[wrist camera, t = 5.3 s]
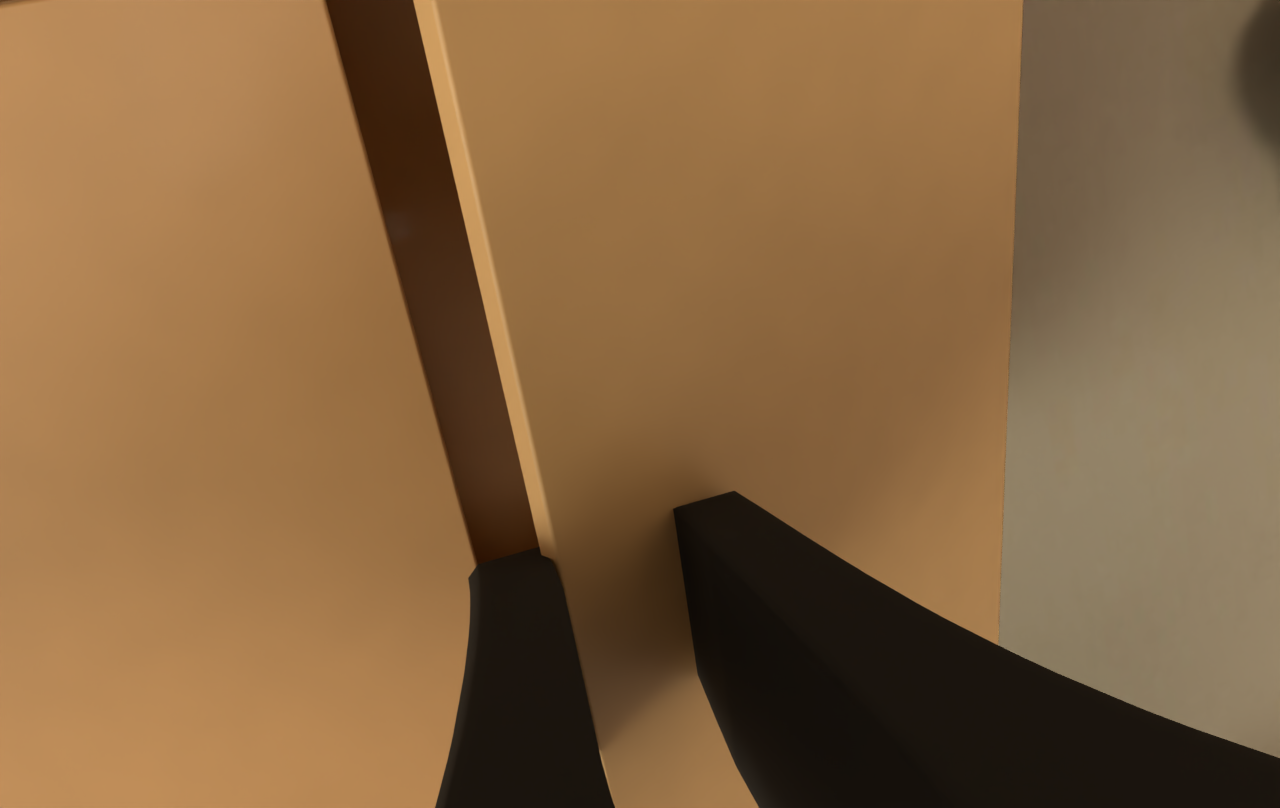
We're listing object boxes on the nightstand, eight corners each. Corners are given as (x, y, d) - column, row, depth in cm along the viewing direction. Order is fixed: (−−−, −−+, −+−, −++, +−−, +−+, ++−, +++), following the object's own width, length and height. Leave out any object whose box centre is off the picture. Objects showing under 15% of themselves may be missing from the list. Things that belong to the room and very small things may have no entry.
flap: (1002, -171, 10) (1032, -175, 9) (977, 729, 15) (995, 742, 15) (400, -46, 7) (421, -45, 6) (647, 1020, 12) (663, 1039, 12)
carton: (731, -156, 16) (1032, -180, 9) (785, 482, 22) (995, 742, 15) (-185, -5, 14) (-633, 104, 7) (147, 666, 19) (70, 1071, 13)
